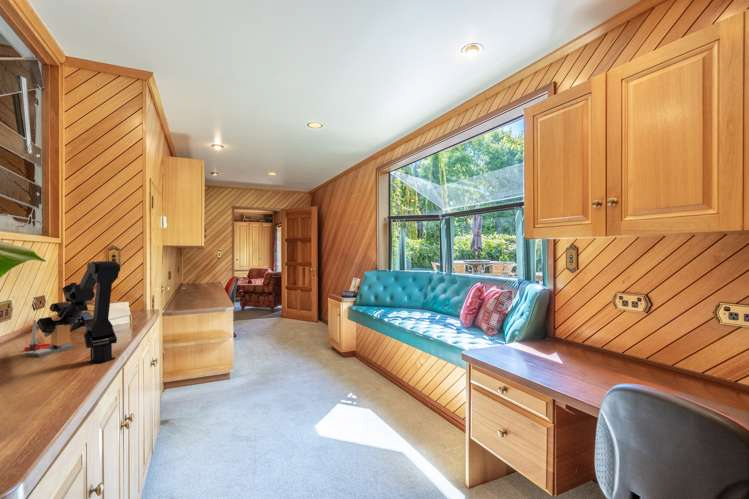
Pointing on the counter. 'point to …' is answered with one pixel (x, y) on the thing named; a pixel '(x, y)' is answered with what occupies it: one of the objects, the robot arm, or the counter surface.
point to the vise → (49, 350)
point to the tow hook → (33, 341)
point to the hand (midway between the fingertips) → (58, 333)
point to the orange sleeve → (60, 335)
